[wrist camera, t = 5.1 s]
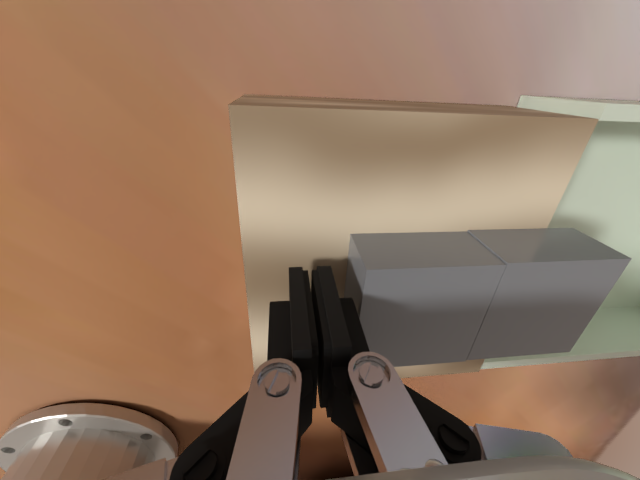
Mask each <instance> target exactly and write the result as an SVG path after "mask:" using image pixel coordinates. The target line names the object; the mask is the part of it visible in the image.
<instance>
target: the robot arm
mask: <svg viewBox="0 0 640 480" xmlns="http://www.w3.org/2000/svg"><path fill="white" fill-rule="evenodd" d="M317 385H318V393H319V402H320V407H321V408H324V407H326V411H327V418H328V417H331V421H332V422H333V423H334V424H336V425H337V426H338V427H339V428H341V435H342V439H343V442H344V445H345V448H346V451H347V455H348V458H349V461H350V464H351V467H352V471H353V474H354V476H351V477H343V478H335V479H327V480H640V479H639V478H637V477H634V476H632V475H630V474H628V473H625V472H623V471H620V470H618V469H615V468H612V467H609V466H606V465H603V464H600V463H597V462H593V461H588V460H584V459H580V458H573V457H572V455H571V454H570V452H569V451H568V450H567V449H566V448H565V447H564V446H563V445H562V444H561V443H560V442H558V441H557V440H555V439H553V438H552V437H550V436H548V435H545V434H542V433H538V432H531V431H524V430H517V429H510V428H503V427H496V426H489V425H482V424H475V425H474V427H472V426H468V425H466V424H465V423H464V422H463V421H461V420H460V419H458V418H457V417H455V416H454V415H452V414H450V413H449V412H447V411H446V410H444V409H442V408H441V407H439V406H438V405H436V404H434V403H433V402H431V401H430V400H428V399H427V398H425V397H423V396H422V395H420V394H419V393H417V392H415V391H414V390H412V389H411V388H409V387H407V386H406V385H404V384H403V383H402V381H401V379H400V377H399V375H398V374H397V372H396V370H395V368H394V366H393V365H392V364H391V362H390V361H389V360H388V359H386V358H385V357H384V356H382V355H380V354H378V353H374V352H370V350H369V347H368V344H367V341H366V338H365V335H364V332H363V329H362V325H361V322H360V319H359V316H358V313H357V310H356V307H355V304H354V301H353V299H352V297H350V298H339V295H338V291H337V287H336V283H335V280H334V276H333V272H332V268H331V266H317V269H316V270H312V273H311V289H310V282H309V275H308V270H303V268H302V267H289V301H272V302H270V306H269V328H268V351H267V361H266V362H264V363H263V364H261V365H260V366H259V367H258V368H257V369H256V371H255V372H254V375H253V377H252V380H251V384H250V388H249V391H248V392H247V393H246V394H245V395H244V396H243V397H241V398H240V399H239V400H238V401H237V402H236V403H235V404H234V405H233V406H232V407H231V408H230V409H228V410H227V411H226V412H225V413H224V414H223V415H222V416H221V417H220V418H219V419H218V420H217V421H215V422H214V423H213V424H212V425H211V426H210V427H209V428H208V429H207V430H206V431H205V432H203V433H202V434H201V435H200V436H199V437H198V438H197V439H196V440H195V441H194V442H193V443H192V444H190V445H189V446H188V447H187V448H186V449H185V450H184V451H183V453H182V454H181V455H180V456H179V457H177V454H178V443H177V440H176V438H175V436H174V435H173V433H172V432H171V431H170V430H169V429H168V428H167V427H166V426H165V425H164V424H162V423H161V422H160V421H158V420H156V419H154V418H153V417H151V416H149V415H146V414H144V413H141V412H139V411H136V410H133V409H129V408H125V407H121V406H115V405H109V404H102V403H69V404H61V405H55V406H49V407H46V408H43V409H39V410H36V411H33V412H31V413H29V414H27V415H25V416H23V417H21V418H19V419H18V420H17V421H15V422H14V423H13V424H12V425H11V426H10V427H9V428H8V430H7V431H6V432H5V434H4V435H3V436H2V437H1V439H0V467H1V468H2V469H3V470H4V471H5V472H6V473H5V474H4V476H3V477H2V479H1V480H298V473H299V461H300V448H301V436H302V435H303V433H304V432H305V431H306V430H307V428H308V427H309V426H310V425H311V423H312V409H313V408H316V395H317Z"/></svg>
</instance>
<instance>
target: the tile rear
mask: <svg viewBox="0 0 640 480" xmlns="http://www.w3.org/2000/svg"><path fill="white" fill-rule="evenodd" d="M467 232H468V233H469V234H471V235H472V236H473V237H474V238H475V239H476V240H478V241H479V242H480V243H481V244H482V245H484V246H485V247H486V248H487V249H488V250H490V251H491V252H492V253H493V254H494V255H496V256H497V257H498V258H499V259H500V260H501V261H503V262H504V263H505V264H506V267H505V270H504V272H503V274H502V277H501V279H500V282H499V284H498V286H497V289H496V291H495V293H494V296H493V298H492V300H491V303H490V305H489V307H488V310H487V312H486V315H485V317H484V319H483V322H482V324H481V326H480V329H479V331H478V333H477V336H476V338H475V340H474V343H473V345H472V348H471V350H470V352H469V355H468V357H467V359H466V360H476V359H489V358H501V357H513V356H526V355H538V354H550V353H563V352H570V351H571V349H572V348H573V346H574V345H575V343H576V342H577V340H578V339H579V337H580V336H581V334H582V333H583V331H584V330H585V328H586V327H587V325H588V324H589V322H590V321H591V319H592V318H593V316H594V315H595V313H596V312H597V310H598V309H599V307H600V306H601V304H602V303H603V301H604V300H605V298H606V297H607V295H608V294H609V292H610V291H611V289H612V288H613V286H614V285H615V283H616V282H617V280H618V279H619V277H620V276H621V274H622V273H623V271H624V270H625V268H626V267H627V265H628V264H629V262H630V261H631V259H632V258H630V257H628V256H626V255H624V254H622V253H620V252H618V251H616V250H614V249H612V248H611V247H609V246H607V245H605V244H603V243H601V242H599V241H597V240H595V239H593V238H592V237H590V236H588V235H586V234H584V233H582V232H580V231H578V230H576V229H574V228H538V229H490V230H468V231H467Z"/></svg>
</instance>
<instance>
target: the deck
mask: <svg viewBox="0 0 640 480" xmlns="http://www.w3.org/2000/svg"><path fill="white" fill-rule="evenodd" d="M228 107H229V117H230V127H231V138H232V148H233V158H234V169H235V179H236V189H237V200H238V210H239V220H240V231H241V241H242V252H243V262H244V272H245V283H246V293H247V303H248V314H249V324H250V334H251V345H252V355H253V365H254V372H255V371H256V369H257V368H258V367H259V366H260V365H261V364H263V363H264V362H266V361H267V351H268V328H269V306H270V302H272V301H289V267H302V268H303V270H308V275H309V282H310V289H311V273H312V270H316V269H317V266H331V268H332V272H333V276H334V280H335V283H336V287H337V291H338V295H339V298H344V290H345V280H346V271H347V261H348V252H349V242H350V234H362V233H411V232H460V231H468V230H490V229H538V228H547V227H548V225H549V223H550V221H551V219H552V217H553V215H554V213H555V211H556V209H557V206H558V204H559V202H560V200H561V198H562V196H563V194H564V192H565V190H566V188H567V185H568V183H569V181H570V179H571V177H572V175H573V173H574V171H575V169H576V166H577V164H578V162H579V160H580V158H581V156H582V154H583V152H584V150H585V148H586V145H587V143H588V141H589V139H590V137H591V135H592V133H593V131H594V129H595V127H596V124H597V122H598V120H599V119H595V118H588V117H581V116H575V115H568V114H561V113H554V112H547V111H540V110H533V109H526V108H519V107H512V106H501V105H478V104H455V103H432V102H409V101H385V100H362V99H339V98H316V97H293V96H270V95H247V94H245V95H243V96H241V97H240V98H238V99H237V100H235V101H233V102H232V103H230V104H229V105H228ZM484 360H485V359H476V360H466V361H464V362H451V363H439V364H426V365H414V366H402V367H394V368H395V370H396V372H397V374H398V375H399V377H400V378H409V377H421V376H433V375H445V374H457V373H469V372H479V371H480V368H481V366H482V364H483V362H484Z"/></svg>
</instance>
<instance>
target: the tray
mask: <svg viewBox="0 0 640 480" xmlns="http://www.w3.org/2000/svg"><path fill="white" fill-rule="evenodd" d="M517 107H519V108H526V109H533V110H540V111H547V112H554V113H561V114H568V115H575V116H581V117H588V118H595V119H599V120H598V122H597V124H596V127H595V129H594V131H593V133H592V135H591V137H590V139H589V141H588V143H587V145H586V148H585V150H584V152H583V154H582V156H581V158H580V160H579V162H578V164H577V166H576V169H575V171H574V173H573V175H572V177H571V179H570V181H569V183H568V185H567V188H566V190H565V192H564V194H563V196H562V198H561V200H560V202H559V204H558V206H557V209H556V211H555V213H554V215H553V217H552V219H551V221H550V223H549V225H548V227H547V228H574V229H576V230H578V231H580V232H582V233H584V234H586V235H588V236H590V237H592V238H593V239H595V240H597V241H599V242H601V243H603V244H605V245H607V246H609V247H611V248H612V249H614V250H616V251H618V252H620V253H622V254H624V255H626V256H628V257H630V258H632V259H631V261H630V262H629V264H628V265H627V267H626V268H625V270H624V271H623V273H622V274H621V276H620V277H619V279H618V280H617V282H616V283H615V285H614V286H613V288H612V289H611V291H610V292H609V294H608V295H607V297H606V298H605V300H604V301H603V303H602V304H601V306H600V307H599V309H598V310H597V312H596V313H595V315H594V316H593V318H592V319H591V321H590V322H589V324H588V325H587V327H586V328H585V330H584V331H583V333H582V334H581V336H580V337H579V339H578V340H577V342H576V343H575V345H574V346H573V348H572V349H571V351H570V352H563V353H550V354H538V355H526V356H513V357H501V358H489V359H485V360H484V362H483V364H482V366H481V368H480V369H488V368H500V367H513V366H525V365H537V364H549V363H561V362H573V361H586V360H598V359H610V358H622V357H634V356H640V101H628V100H607V99H586V98H566V97H545V96H525V95H521V97H520V100H519V103H518V106H517Z"/></svg>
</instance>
